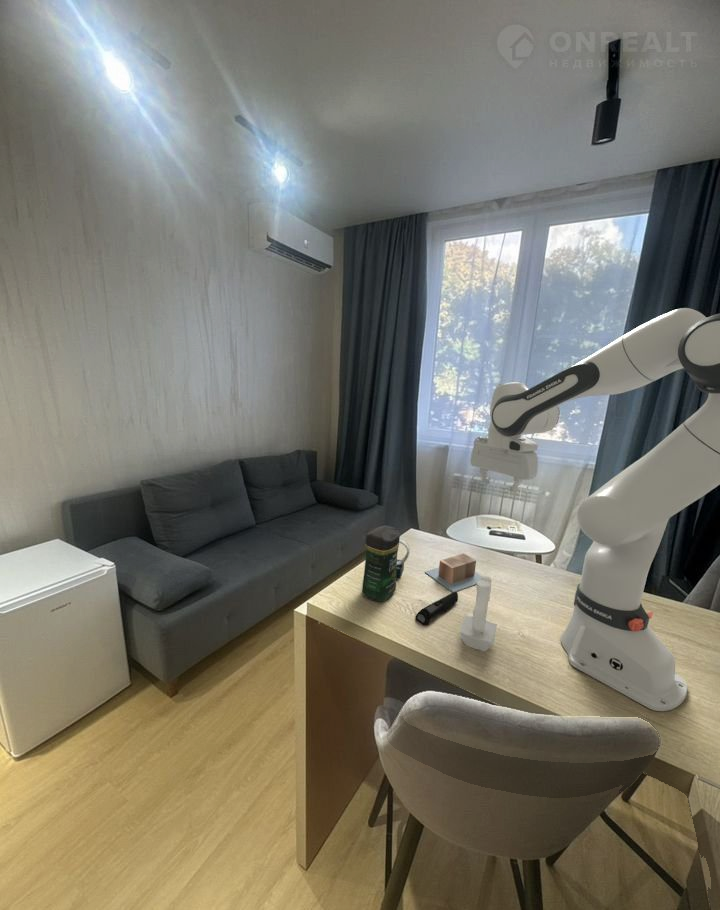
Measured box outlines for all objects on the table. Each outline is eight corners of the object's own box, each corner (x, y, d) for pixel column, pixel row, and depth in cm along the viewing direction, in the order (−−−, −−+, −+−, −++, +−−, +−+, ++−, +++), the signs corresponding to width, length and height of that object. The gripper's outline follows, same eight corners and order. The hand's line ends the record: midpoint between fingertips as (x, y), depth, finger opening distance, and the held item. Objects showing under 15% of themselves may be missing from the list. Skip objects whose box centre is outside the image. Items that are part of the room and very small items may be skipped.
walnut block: (476, 560, 112) (452, 568, 107) (474, 575, 113) (450, 583, 108) (463, 553, 116) (439, 560, 111) (462, 568, 117) (438, 575, 112)
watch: (383, 566, 117) (385, 533, 114) (409, 571, 114) (411, 537, 112) (379, 574, 111) (381, 540, 109) (405, 580, 109) (408, 545, 107)
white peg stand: (456, 649, 82) (463, 588, 79) (464, 625, 91) (471, 569, 87) (490, 661, 79) (499, 598, 76) (495, 635, 88) (503, 577, 84)
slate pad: (487, 580, 111) (487, 579, 111) (453, 592, 104) (453, 591, 104) (457, 562, 121) (457, 561, 121) (424, 572, 114) (424, 571, 114)
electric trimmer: (461, 604, 99) (462, 594, 99) (425, 627, 89) (426, 616, 89) (449, 598, 102) (450, 588, 101) (413, 620, 92) (414, 608, 91)
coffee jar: (383, 606, 96) (387, 540, 92) (357, 595, 100) (360, 531, 96) (400, 589, 104) (405, 527, 100) (376, 580, 108) (379, 520, 104)
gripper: (467, 436, 113) (464, 480, 115) (529, 447, 96) (523, 498, 98) (481, 434, 116) (477, 478, 119) (543, 445, 99) (537, 495, 102)
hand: (498, 487), depth 108 cm, fingers open, 8 cm apart
